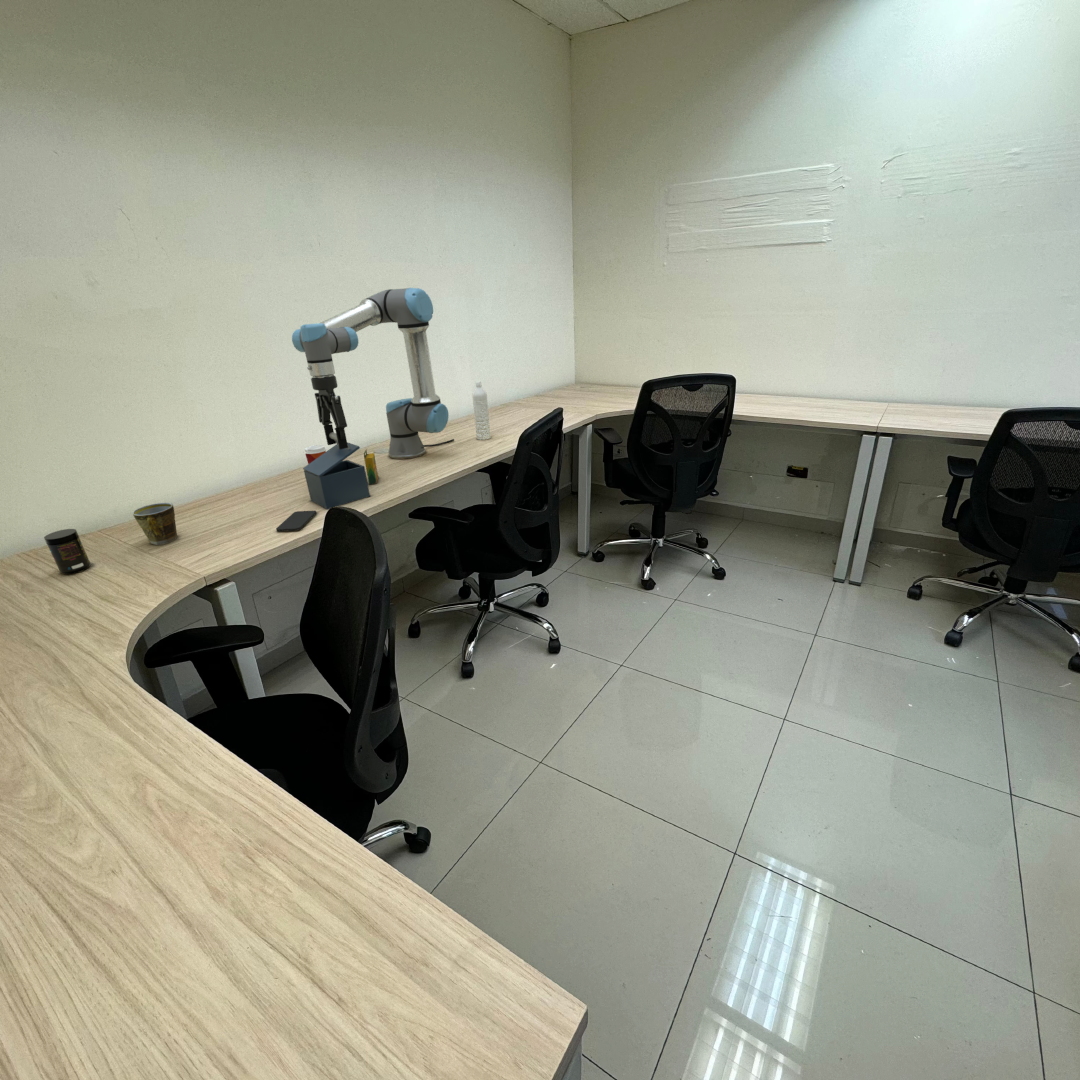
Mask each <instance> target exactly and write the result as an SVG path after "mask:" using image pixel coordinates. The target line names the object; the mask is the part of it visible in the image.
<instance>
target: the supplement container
mask: <svg viewBox="0 0 1080 1080" xmlns="http://www.w3.org/2000/svg"><path fill="white" fill-rule="evenodd" d="M43 540H44V541H45V544H46V545H47V547H48V549H49V552H50V554H51V556H52V558H53V560H54V563H55V565H56V566H57V568H58V572H60V573H61V574H63V575H74V574H78V573H80V572H84V571H85V570H87V569H89V568H90V567H91V560H90V559H89V556H88V554H87V551H86V550H85V547H84V545H83V543H82V540H81V538H80V535H79V533H78V530H77V529H76V528H65V529H60V530H56V531H53V532H50V533H47V534H46V535H45V536H43Z"/></svg>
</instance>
